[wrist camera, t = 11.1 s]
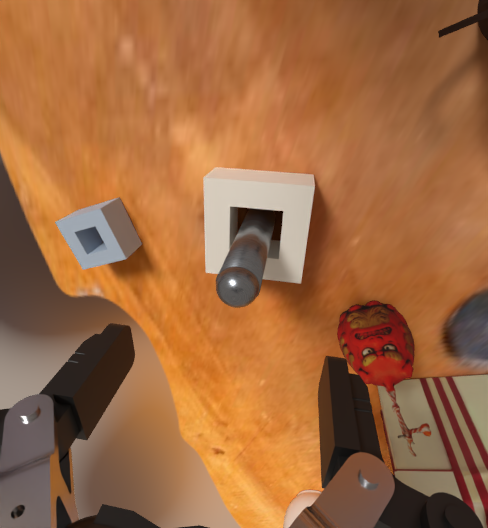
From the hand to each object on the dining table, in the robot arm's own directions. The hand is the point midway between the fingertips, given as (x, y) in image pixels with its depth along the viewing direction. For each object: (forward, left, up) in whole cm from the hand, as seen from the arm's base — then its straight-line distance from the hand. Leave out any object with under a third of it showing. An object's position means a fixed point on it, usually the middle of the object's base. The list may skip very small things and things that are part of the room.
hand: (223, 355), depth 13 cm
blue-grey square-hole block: (+6, -19, -24) cm, 31 cm away
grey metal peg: (+3, -1, -24) cm, 24 cm away
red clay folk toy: (+15, +13, -24) cm, 31 cm away
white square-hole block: (+3, -1, -24) cm, 24 cm away
